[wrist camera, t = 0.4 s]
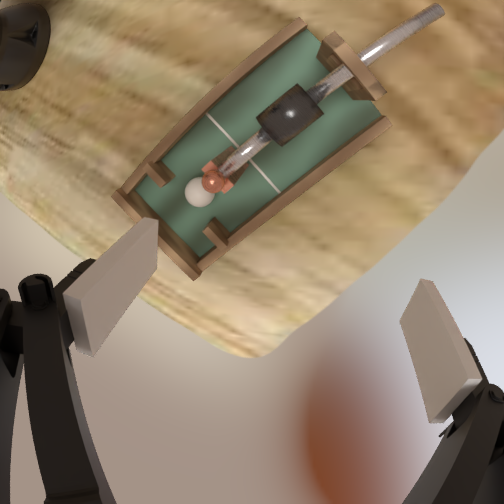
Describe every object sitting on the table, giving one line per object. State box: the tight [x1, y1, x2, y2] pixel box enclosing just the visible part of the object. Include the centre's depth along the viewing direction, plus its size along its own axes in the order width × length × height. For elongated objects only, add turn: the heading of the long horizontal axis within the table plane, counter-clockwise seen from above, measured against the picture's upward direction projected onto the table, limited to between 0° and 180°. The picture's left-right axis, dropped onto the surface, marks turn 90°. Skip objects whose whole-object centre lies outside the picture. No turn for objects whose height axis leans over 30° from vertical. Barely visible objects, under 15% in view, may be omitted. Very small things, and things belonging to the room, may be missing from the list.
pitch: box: [111, 17, 392, 281], centre depth 31 cm, size 15×30×12 cm, turn 132°
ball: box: [185, 177, 215, 207], centre depth 36 cm, size 4×4×4 cm
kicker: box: [201, 3, 445, 194], centre depth 25 cm, size 3×27×11 cm, turn 132°
